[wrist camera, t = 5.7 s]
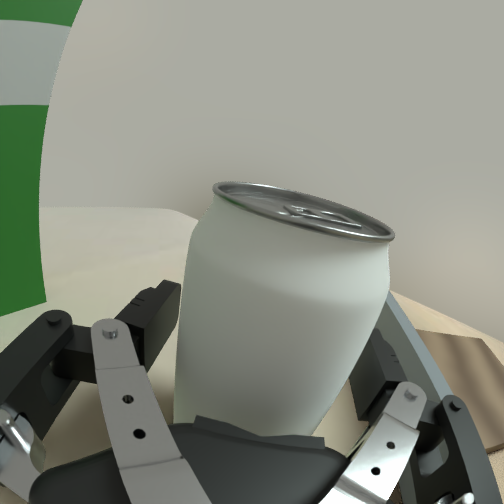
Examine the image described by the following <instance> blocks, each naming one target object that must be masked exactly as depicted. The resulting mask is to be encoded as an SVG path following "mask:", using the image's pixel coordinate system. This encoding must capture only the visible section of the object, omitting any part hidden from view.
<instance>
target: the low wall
mask: <svg viewBox="0 0 504 504" xmlns="http://www.w3.org/2000/svg"><path fill="white" fill-rule="evenodd" d="M374 328H378V329H379V330H380V332H381V335H382V337H383V339H384V340H385V341H387V342H388V343H389V344H390V345H391V346H392V348H393V349H394V351H395V353H396V355H397V356H396V357H397V358H398V360H399V363H400V364H401V366H402V368H403V371H404V373H405V375H406V377H407V380H408V382H412V383H414V384H416V385H418V386H419V387H421V388H422V389H423V391H424V392H425V394H426V397H427V400H431V401H434V402H438V403H440V402H441V400H442V399H443V398H444V397H445V396H446V395H454V394H453V393H452V391H451V389H450V387H449V385H448V383H447V382H446V380H445V378H444V376H443V374H442V373H441V371H440V369H439V368H438V366H437V364H436V362H435V361H434V359H433V357H432V356H431V354H430V352H429V351H428V349H427V347H426V346H425V344H424V343H423V341H422V339H421V338H420V336H419V335H418V333H417V331H416V330H415V328H414V327H413V325H412V324H411V322H410V321H409V319H408V318H407V316H406V315H405V313H404V312H403V310H402V309H401V307H400V306H399V304H398V303H397V301H396V300H395V298H394V297H393V295H392V294H391V293H390V291H388V294H387V298H386V300H385V303H384V305H383V308H382V310H381V313H380V315H379V317H378V320H377V322H376V324H375V326H374ZM438 448H439V451H440V454H441V458H442V461H443V464H444V463H445V462H446V460H447V458H448V455H449V451H448V448H447V445H446V442H445V439H444V440H443V441H442V442H441V443H440V444H439V445H438ZM398 481H399V486H400V491H401V496H402V501H403V504H417V502H416V495H415V489H414V483H413V478H412V472H411V467H410V462H409V459H408V461H407V463H406V466H405V468H404V470H403V472H402V474H401V476H400V478H399V480H398Z"/></svg>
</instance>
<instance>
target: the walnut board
mask: <svg viewBox="0 0 504 504" xmlns="http://www.w3.org/2000/svg"><path fill="white" fill-rule="evenodd" d="M415 330H416V331H417V333H418V335H419V336H420V338H421V339H422V341H423V343H424V344H425V346H426V347H427V349H428V351H429V352H430V354H431V356H432V357H433V359H434V361H435V362H436V364H437V366H438V368H439V369H440V371H441V373H442V374H443V376H444V378H445V380H446V382H447V383H448V385H449V387H450V389H451V391H452V393H453V394H454V395H455V396H457V397H459V398H460V399H461V400H463V402H464V403H465V404H466V406H467V408H468V410H469V413H470V415H471V417H472V419H473V421H474V424H475V426H476V428H477V431H478V433H479V435H480V438H481V440H482V443H483V445H484V448H485V450H486V453H487V454H488V453H491V452H494V451H497V450H500V449H502V448H504V366H503V365H502V364H501V362H500V361H499V360H498V359H497V357H496V356H495V355H494V354H493V352H492V351H491V350H490V349H489V347H488V346H487V345H486V344H485V342H484V341H483V340H482V339H480V338H472V337H464V336H457V335H450V334H443V333H436V332H430V331H424V330H417V329H415Z"/></svg>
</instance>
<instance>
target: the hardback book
mask: <svg viewBox="0 0 504 504" xmlns="http://www.w3.org/2000/svg"><path fill="white" fill-rule="evenodd" d="M81 3H82V0H0V316H4V315H7V314H10V313H13V312H16V311H19V310H22V309H25V308H29V307H32V306H35V305H38V304H41V303H44V302H47V301H46V295H45V288H44V281H43V273H42V263H41V252H40V237H39V180H40V166H41V154H42V145H43V137H44V129H45V124H46V117H47V112H48V107H49V101H50V97H51V92H52V88H53V84H54V80H55V76H56V73H57V69H58V65H59V61H60V58H61V55H62V52H63V49H64V46H65V43H66V40H67V37H68V34H69V32H70V29H71V27H72V24H73V22H74V19H75V17H76V14H77V12H78V10H79V7H80V5H81Z"/></svg>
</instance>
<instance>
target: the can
mask: <svg viewBox="0 0 504 504" xmlns="http://www.w3.org/2000/svg"><path fill="white" fill-rule="evenodd" d="M213 192H214V194H215V195H214V198H213V201H212V203H211V205H210V206H209V208H208V209H207V211H206V212H205V214H204V215H203V217H202V218H201V219H200V221H199V222H198V224H197V225H196V227H195V228H194V230H193V232H192V235H191V239H190V243H189V248H188V254H187V260H186V267H185V275H184V282H183V290H182V299H181V309H180V318H179V329H178V341H177V354H176V369H175V388H174V423H194V420H195V417H196V415H199V416H203V417H207V418H210V419H214V420H218V421H222V422H227V423H230V424H232V425H234V426H237V427H239V428H241V429H244V430H246V431H248V432H251V433H253V434H256V435H259V436H281V435H303V436H311V435H312V434H313V432H314V431H315V430H316V428H317V427H318V425H319V424H320V422H321V421H322V419H323V418H324V416H325V415H326V413H327V412H328V410H329V408H330V407H331V405H332V404H333V402H334V400H335V399H336V397H337V396H338V394H339V392H340V391H341V389H342V387H343V385H344V384H345V382H346V380H347V379H348V377H349V375H350V373H351V371H352V370H353V368H354V366H355V364H356V362H357V360H358V358H359V357H360V355H361V353H362V351H363V349H364V347H365V345H366V343H367V341H368V339H369V337H370V335H371V333H372V330H373V328H374V326H375V324H376V322H377V320H378V317H379V315H380V313H381V310H382V308H383V305H384V303H385V300H386V298H387V294H388V291H389V285H390V273H389V260H388V248H389V243H390V242H391V241H392V240H393V239H394V238H395V233H394V231H393V230H392V229H391V228H390V227H388V226H387V225H385V224H384V223H382V222H380V221H379V220H377V219H375V218H373V217H371V216H368V215H366V214H364V213H362V212H359V211H357V210H354V209H352V208H349V207H346V206H343V205H341V204H338V203H335V202H332V201H329V200H326V199H322V198H319V197H315V196H312V195H308V194H304V193H301V192H296V191H292V190H288V189H283V188H278V187H273V186H268V185H261V184H255V183H246V182H220V183H216V184H214V186H213Z"/></svg>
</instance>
